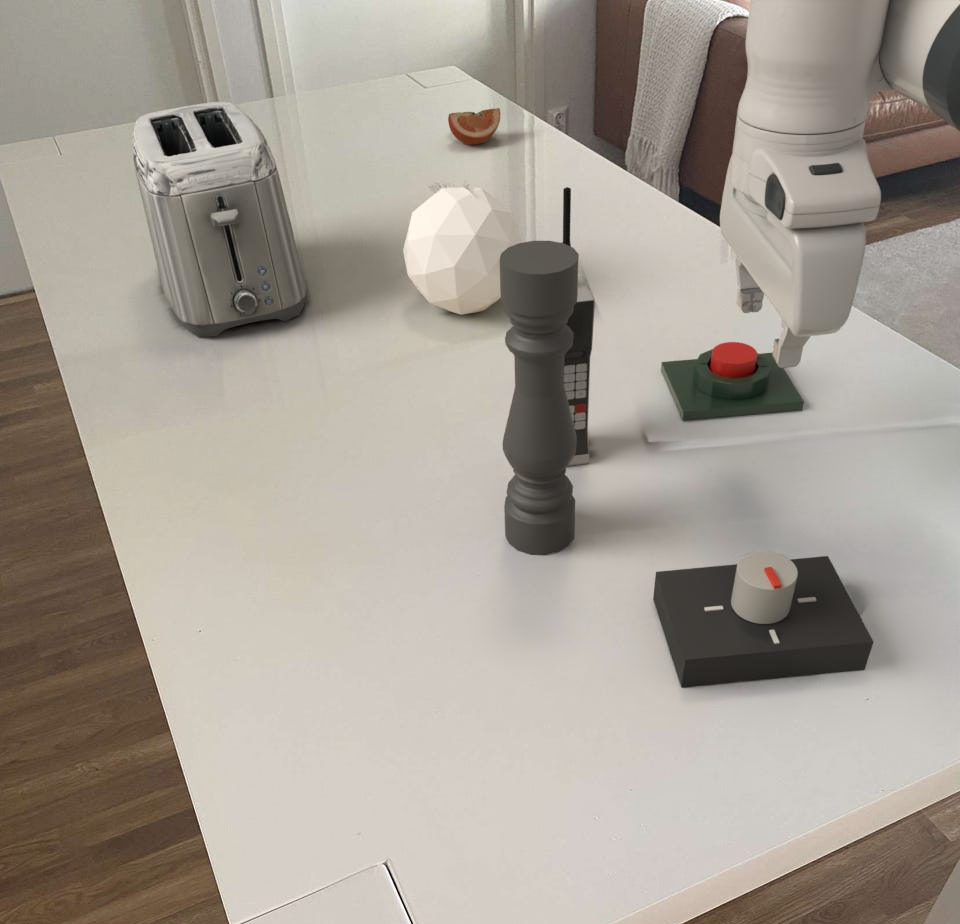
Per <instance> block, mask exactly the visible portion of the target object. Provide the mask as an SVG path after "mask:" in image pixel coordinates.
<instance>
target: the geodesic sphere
mask: <svg viewBox="0 0 960 924" xmlns="http://www.w3.org/2000/svg"><path fill="white" fill-rule="evenodd" d="M441 184H442V185H441ZM441 184H440V183H439V182H435V181H434V183H430V185H427V187H428V189H429V191H431V192H432V193H433V195H431V197H429V198H427V200H426V201H424V202H423V203H422V204H421V205H419V206H418V207H417V208H416V209H415V210H414V211H412V212H411V216H410V220H409V224H408V229H407V232H406V236H405V240H404V245H403V249H402V253H403V254H402V255H403V259H404V263H405V268H406V273H407V276H408V278H409V279H410V281H411V282H412V284H413V285H414V287H415V288H416V289H417V290H418V291H419V293H420V294H421V295H422V296H423V297H424V299H426V300H427V302H428V303H429V304H431V305H434V306H435V307H438V308H441V309H443V310H445V311H448V312H451V313H454V314H457V315H460V316H461V315H462V316H463V315H468V314H473V313H479V312H484V311H485V310H487V309H488V308H489V307H491V306H492V305H493V304H495V303H497V302H498V301H499V300H501V291H500V256H501V253H502V252H503V251H505V250H506V249H507V248H508V247H511V246H513V245H516V244H519V243H523V239H522V237H521V233H520V229H519V226H518V223H517V221H516V217H515V213H514V212H513V211H512V210H511V209H509V208H508V207H507V206H506V205H505V204H504V203H502V202H500V201H499V199H497V198H496V197H494V195H492V194H491V193H489V192H487V191H486V190H485V189H484V188H482V187H475V186H473V187H472V186H470V184H469V183H467V181H466V180H464V182H463V186H458V185H457V184H453V185H452V186H451V184H450V183H449V182H447V184H446V183H445V182H443V181H441Z"/></svg>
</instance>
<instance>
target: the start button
mask: <svg viewBox="0 0 960 924" xmlns="http://www.w3.org/2000/svg"><path fill="white" fill-rule="evenodd" d="M712 349H713V350H712V356H711V364H710V369H711V371H712V372H714V373H716V374H718V375H719V376H724V377H729V378H742V377H748V376H750V375H752V374H753V373H754V371H755V366H756V360H757V353H758V351H757V350H756V349H755V347H753V346H752V345H749V344H747V343H743V342H739V341H727V342H721V343H719V344H717V345H715V346H714V347H713V348H712Z"/></svg>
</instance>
